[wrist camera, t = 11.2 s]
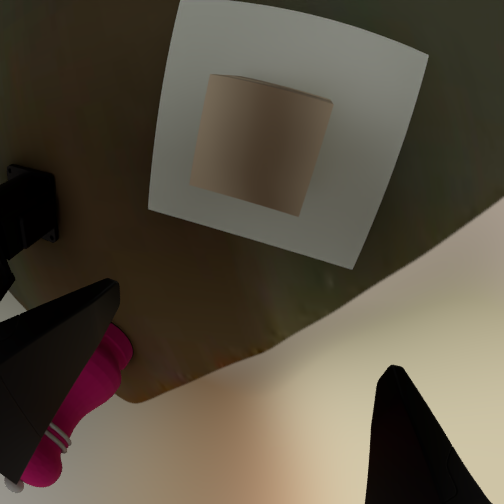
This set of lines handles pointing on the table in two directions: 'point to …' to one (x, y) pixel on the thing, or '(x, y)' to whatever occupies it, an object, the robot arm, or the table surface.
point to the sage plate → (301, 78)
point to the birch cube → (259, 141)
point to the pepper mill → (77, 408)
